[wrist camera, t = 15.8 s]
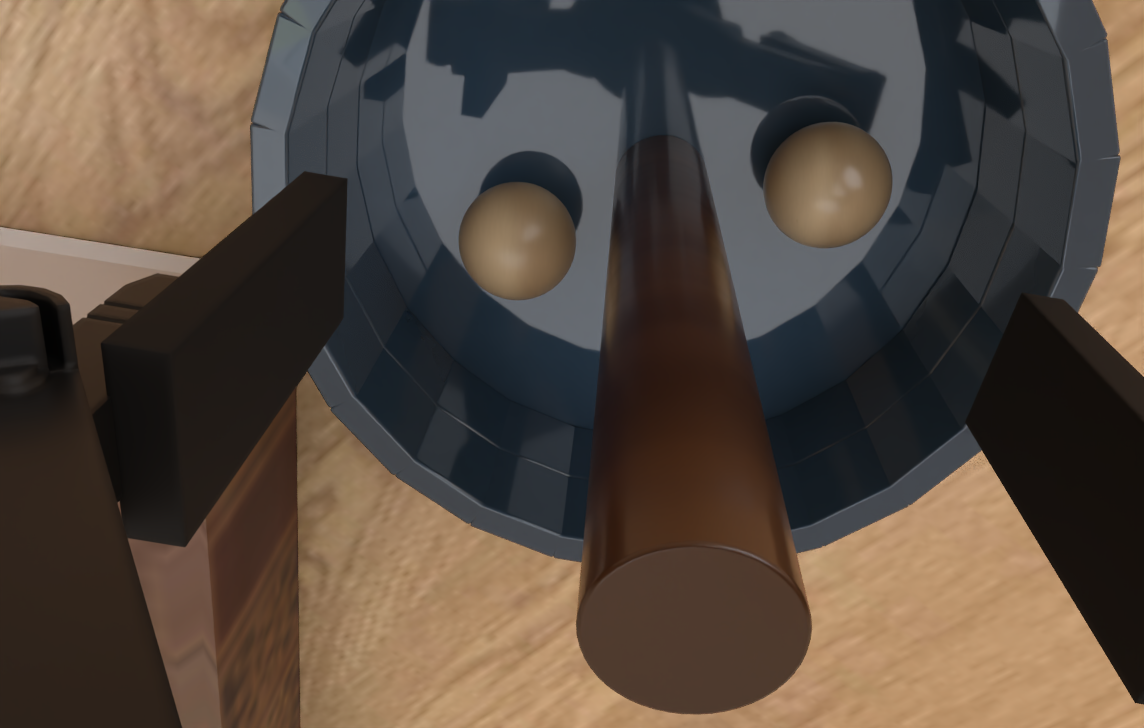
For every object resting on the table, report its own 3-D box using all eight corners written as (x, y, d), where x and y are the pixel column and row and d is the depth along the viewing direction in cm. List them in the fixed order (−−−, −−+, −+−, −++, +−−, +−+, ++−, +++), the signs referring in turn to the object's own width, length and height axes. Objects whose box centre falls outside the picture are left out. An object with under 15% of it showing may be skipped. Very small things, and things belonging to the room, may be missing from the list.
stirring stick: (624, 127, 22) (597, 525, 8) (717, 143, 22) (844, 566, 8) (607, 215, 24) (560, 696, 10) (695, 231, 24) (776, 733, 10)
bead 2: (762, 99, 21) (896, 90, 20) (767, 175, 24) (885, 169, 23) (758, 204, 20) (900, 199, 19) (764, 272, 22) (888, 269, 22)
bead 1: (581, 184, 21) (453, 180, 21) (576, 310, 21) (452, 307, 21) (576, 182, 24) (464, 179, 24) (572, 293, 24) (463, 289, 24)
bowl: (346, -286, 19) (236, -352, 14) (1128, -150, 20) (1306, -163, 14) (330, 392, 28) (258, 510, 23) (878, 483, 28) (933, 621, 23)
